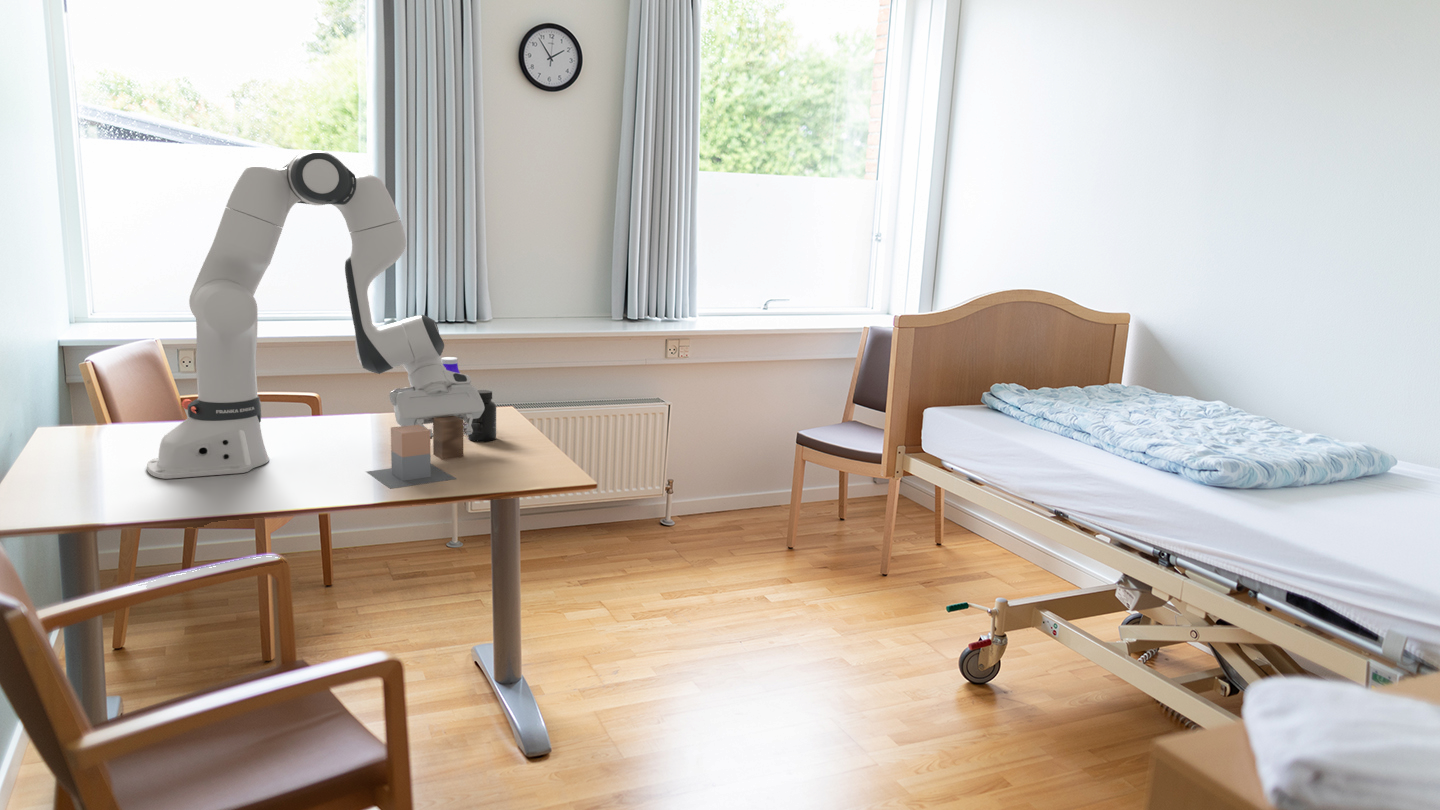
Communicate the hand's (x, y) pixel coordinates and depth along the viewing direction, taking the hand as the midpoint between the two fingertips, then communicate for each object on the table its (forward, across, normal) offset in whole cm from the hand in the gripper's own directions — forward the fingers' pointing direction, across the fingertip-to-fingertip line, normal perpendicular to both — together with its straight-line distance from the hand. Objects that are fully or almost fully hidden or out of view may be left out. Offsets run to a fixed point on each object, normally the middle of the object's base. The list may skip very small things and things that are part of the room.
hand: (449, 435), depth 208 cm
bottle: (-18, +14, +26) cm, 35 cm away
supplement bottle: (-5, +14, +13) cm, 19 cm away
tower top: (+7, -13, -8) cm, 17 cm away
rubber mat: (+11, -13, -4) cm, 18 cm away
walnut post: (+3, 0, +4) cm, 5 cm away
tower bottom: (+11, -13, -4) cm, 17 cm away
